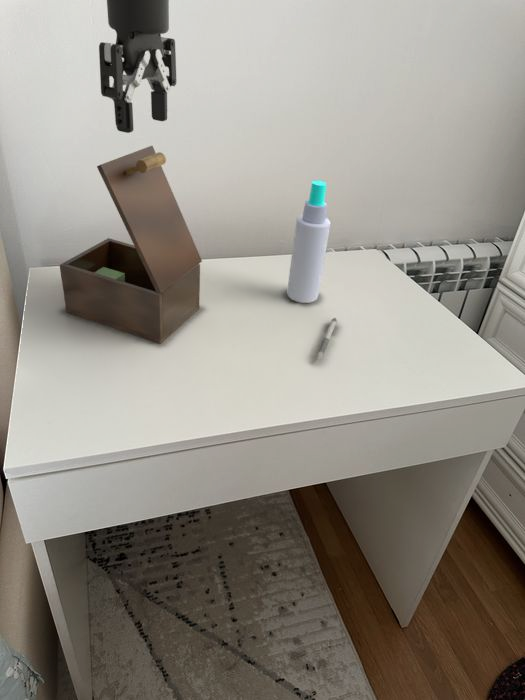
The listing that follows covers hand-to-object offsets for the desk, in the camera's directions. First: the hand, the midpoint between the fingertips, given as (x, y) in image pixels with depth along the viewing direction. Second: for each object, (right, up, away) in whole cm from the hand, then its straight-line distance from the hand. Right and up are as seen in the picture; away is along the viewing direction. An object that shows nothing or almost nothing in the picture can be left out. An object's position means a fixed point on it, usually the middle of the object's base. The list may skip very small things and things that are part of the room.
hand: (143, 125), depth 75 cm
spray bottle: (+24, -21, +29) cm, 43 cm away
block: (-11, -22, +20) cm, 32 cm away
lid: (0, -11, +7) cm, 13 cm away
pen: (+27, -30, +16) cm, 44 cm away
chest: (-6, -24, +19) cm, 31 cm away
